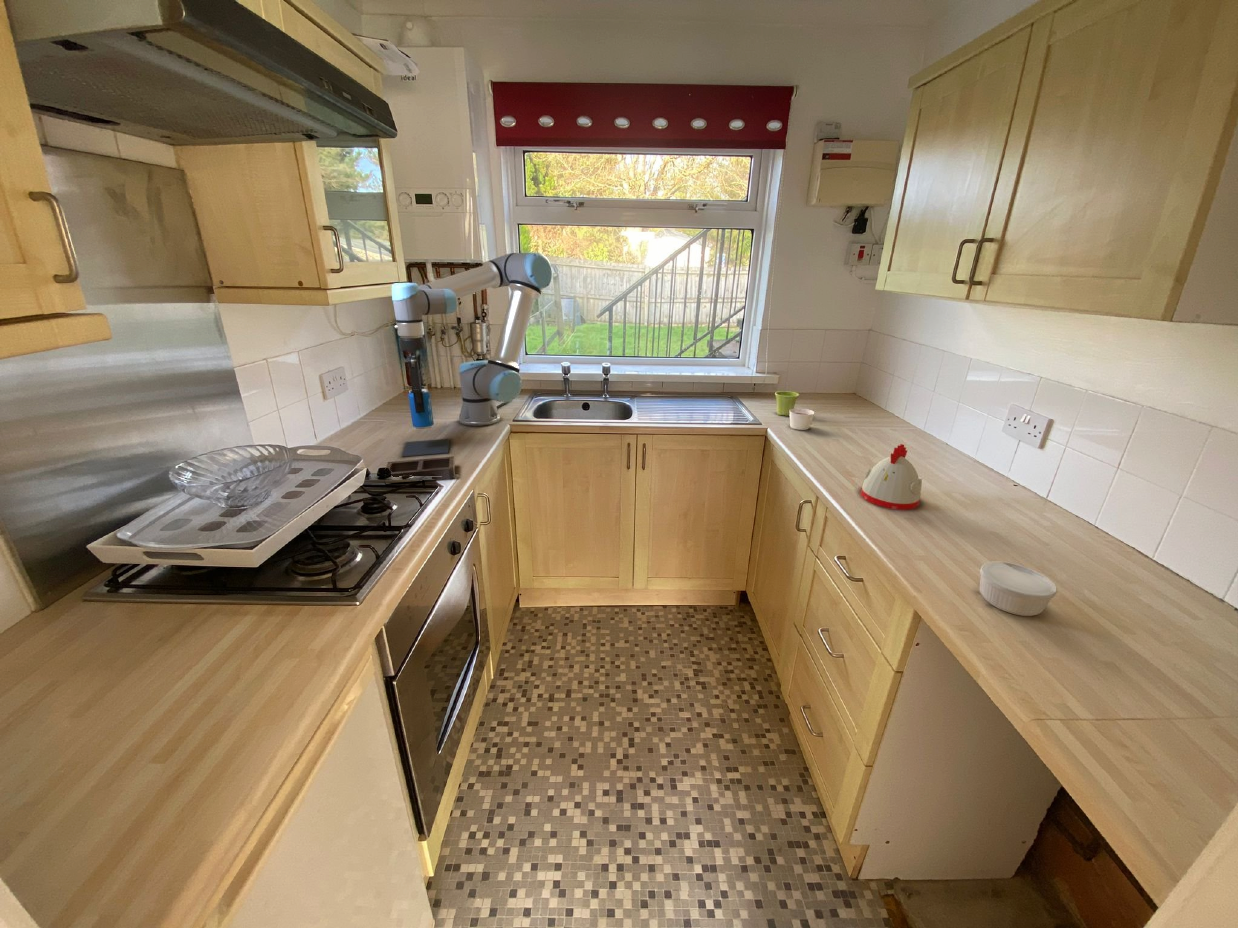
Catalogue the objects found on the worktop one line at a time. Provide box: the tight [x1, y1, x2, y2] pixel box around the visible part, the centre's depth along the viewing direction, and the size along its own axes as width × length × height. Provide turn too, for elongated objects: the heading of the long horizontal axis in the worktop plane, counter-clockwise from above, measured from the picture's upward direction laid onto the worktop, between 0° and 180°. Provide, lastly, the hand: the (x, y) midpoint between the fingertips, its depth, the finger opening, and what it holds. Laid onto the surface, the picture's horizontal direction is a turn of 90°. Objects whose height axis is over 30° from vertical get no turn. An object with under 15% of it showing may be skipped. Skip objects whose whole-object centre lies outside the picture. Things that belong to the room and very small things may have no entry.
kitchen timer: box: [860, 443, 923, 511], centre depth 133 cm, size 14×14×15 cm
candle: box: [789, 407, 815, 431], centre depth 193 cm, size 9×9×6 cm
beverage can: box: [408, 388, 435, 430], centre depth 164 cm, size 6×6×12 cm
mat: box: [401, 438, 450, 458], centre depth 169 cm, size 14×14×1 cm
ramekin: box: [979, 560, 1058, 617], centre depth 93 cm, size 11×11×5 cm
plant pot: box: [774, 390, 800, 417], centre depth 210 cm, size 9×9×9 cm
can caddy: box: [385, 456, 456, 481], centre depth 147 cm, size 10×18×3 cm, turn 106°
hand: (421, 409), depth 164 cm, fingers closed on beverage can, 6 cm apart
